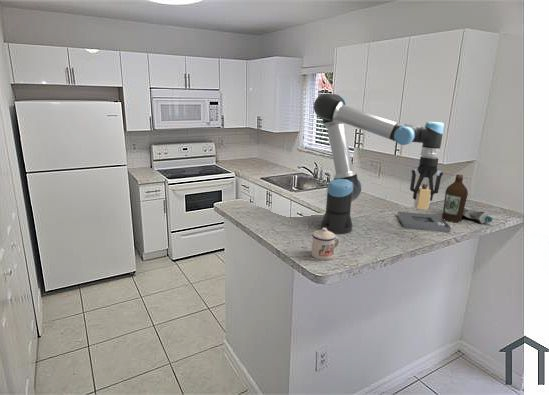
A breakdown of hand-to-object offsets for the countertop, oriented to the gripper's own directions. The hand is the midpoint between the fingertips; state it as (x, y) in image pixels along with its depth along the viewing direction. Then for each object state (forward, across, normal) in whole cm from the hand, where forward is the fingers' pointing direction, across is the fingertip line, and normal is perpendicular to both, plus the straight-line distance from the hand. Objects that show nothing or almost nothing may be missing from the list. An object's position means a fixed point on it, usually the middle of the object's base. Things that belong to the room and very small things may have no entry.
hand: (421, 206), depth 165 cm
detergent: (+14, +34, +34) cm, 50 cm away
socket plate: (+14, +6, +18) cm, 24 cm away
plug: (0, 0, 0) cm, 0 cm away
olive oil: (+14, +24, +30) cm, 41 cm away
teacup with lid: (+14, -42, -35) cm, 56 cm away
